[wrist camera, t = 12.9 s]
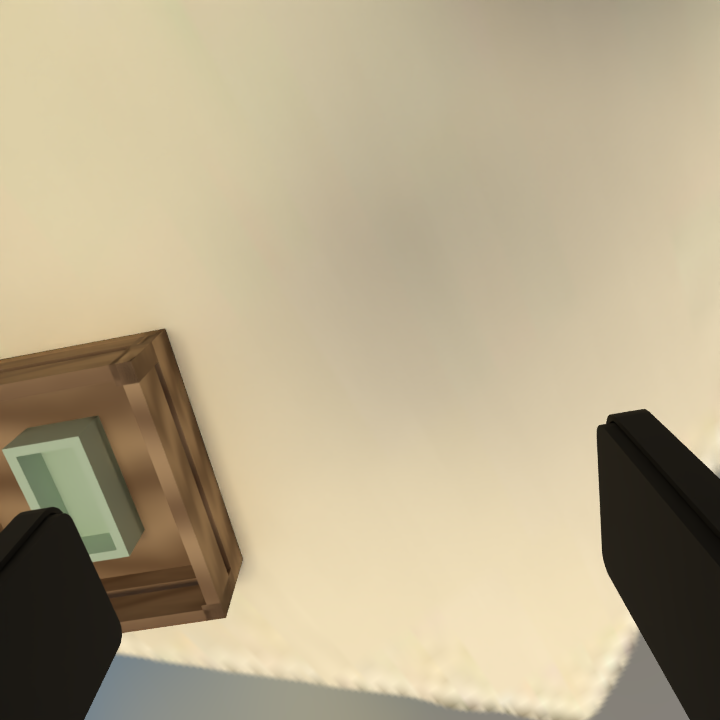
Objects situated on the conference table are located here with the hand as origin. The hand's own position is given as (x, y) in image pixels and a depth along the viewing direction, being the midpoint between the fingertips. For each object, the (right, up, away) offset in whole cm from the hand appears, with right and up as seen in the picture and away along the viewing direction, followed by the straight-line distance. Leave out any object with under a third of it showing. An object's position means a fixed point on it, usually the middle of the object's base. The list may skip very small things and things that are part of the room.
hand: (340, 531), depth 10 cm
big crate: (-20, -6, +33) cm, 39 cm away
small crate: (-20, -6, +32) cm, 38 cm away
